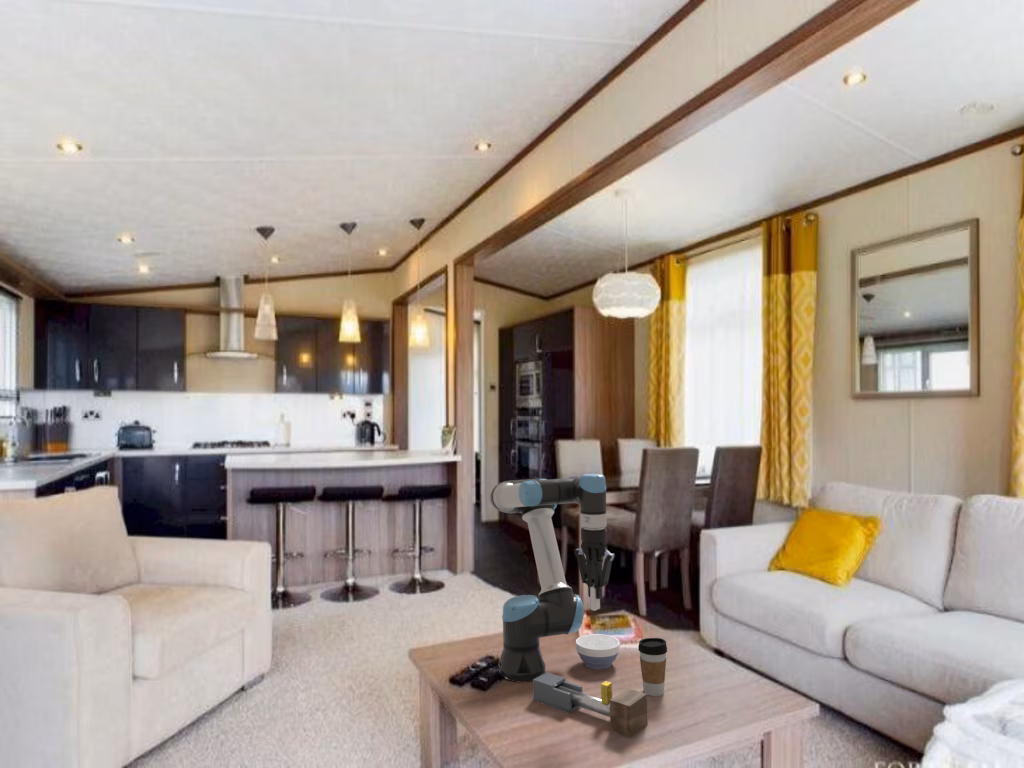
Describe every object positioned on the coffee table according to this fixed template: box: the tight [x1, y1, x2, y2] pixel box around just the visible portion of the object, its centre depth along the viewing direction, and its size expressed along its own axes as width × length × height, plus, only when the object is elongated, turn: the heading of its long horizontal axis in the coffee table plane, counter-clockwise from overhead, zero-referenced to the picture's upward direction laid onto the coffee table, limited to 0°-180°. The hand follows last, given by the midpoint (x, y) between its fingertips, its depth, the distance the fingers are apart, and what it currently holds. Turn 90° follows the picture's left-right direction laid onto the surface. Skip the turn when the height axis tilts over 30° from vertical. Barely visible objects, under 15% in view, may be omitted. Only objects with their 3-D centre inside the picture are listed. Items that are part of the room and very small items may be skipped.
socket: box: [609, 687, 648, 738], centre depth 175 cm, size 6×9×8 cm, turn 140°
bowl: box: [575, 633, 621, 671], centre depth 217 cm, size 14×14×8 cm
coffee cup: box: [637, 637, 668, 697], centre depth 196 cm, size 8×8×15 cm
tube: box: [557, 680, 613, 718], centre depth 183 cm, size 22×4×9 cm, turn 50°
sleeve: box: [532, 671, 583, 714], centre depth 190 cm, size 13×7×6 cm, turn 50°
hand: (595, 609), depth 191 cm, fingers closed
